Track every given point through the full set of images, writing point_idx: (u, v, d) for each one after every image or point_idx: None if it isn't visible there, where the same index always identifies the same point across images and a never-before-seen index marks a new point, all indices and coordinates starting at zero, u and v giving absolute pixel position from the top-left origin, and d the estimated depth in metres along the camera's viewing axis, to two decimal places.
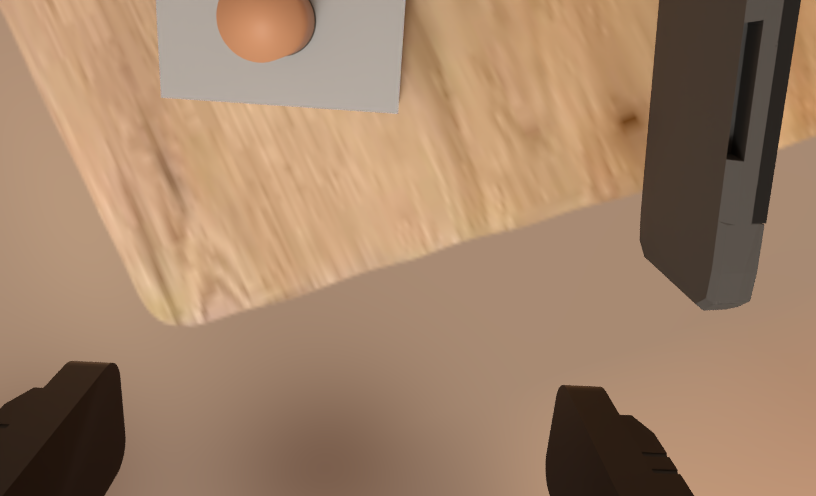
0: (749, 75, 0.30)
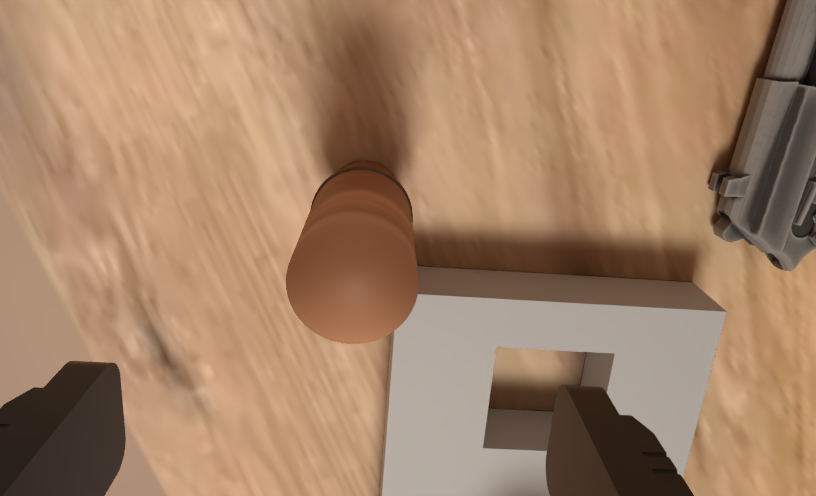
0: None
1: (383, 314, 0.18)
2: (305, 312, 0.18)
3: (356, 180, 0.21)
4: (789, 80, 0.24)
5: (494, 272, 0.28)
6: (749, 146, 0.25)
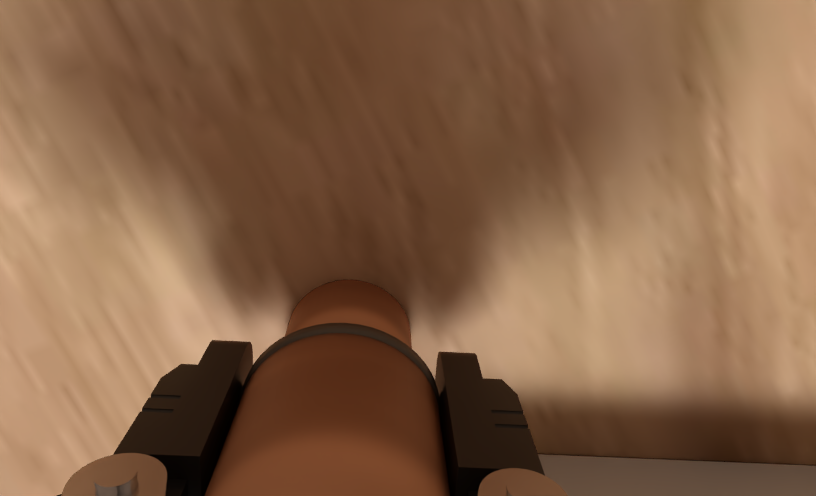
0: None
1: None
2: None
3: (324, 383, 0.10)
4: None
5: (577, 460, 0.16)
6: None
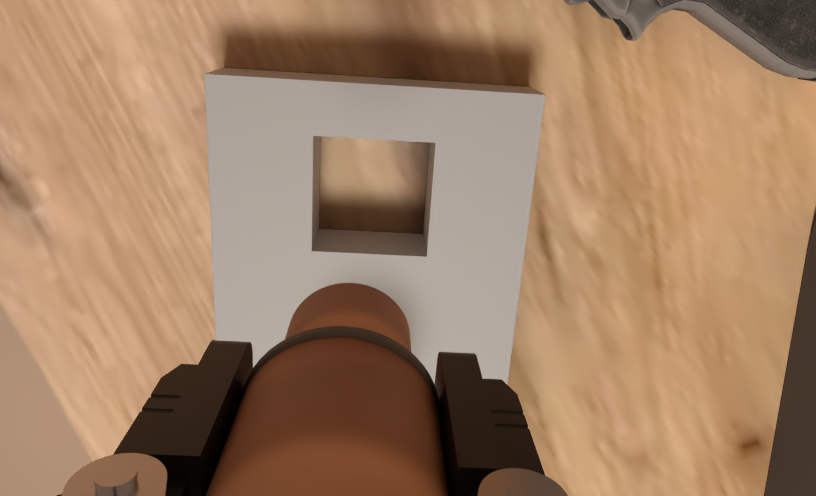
0: None
1: None
2: None
3: (323, 387, 0.10)
4: None
5: (324, 74, 0.27)
6: None
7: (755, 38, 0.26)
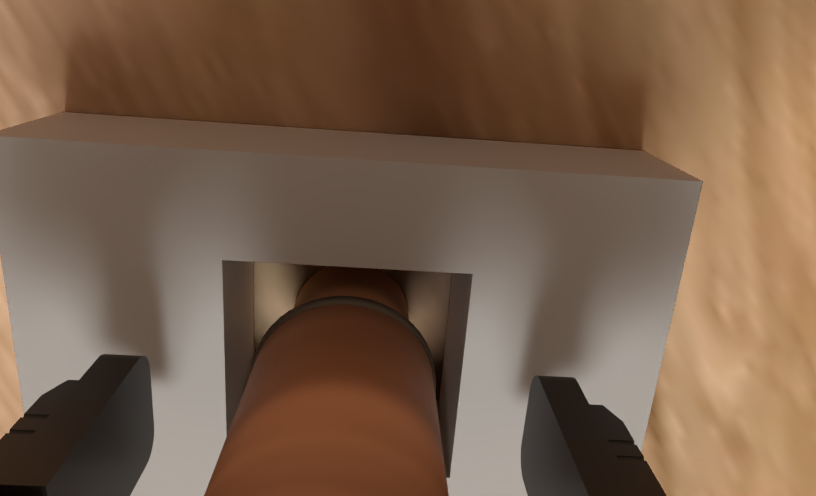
0: None
1: None
2: None
3: (329, 344, 0.11)
4: None
5: (256, 125, 0.14)
6: None
7: None
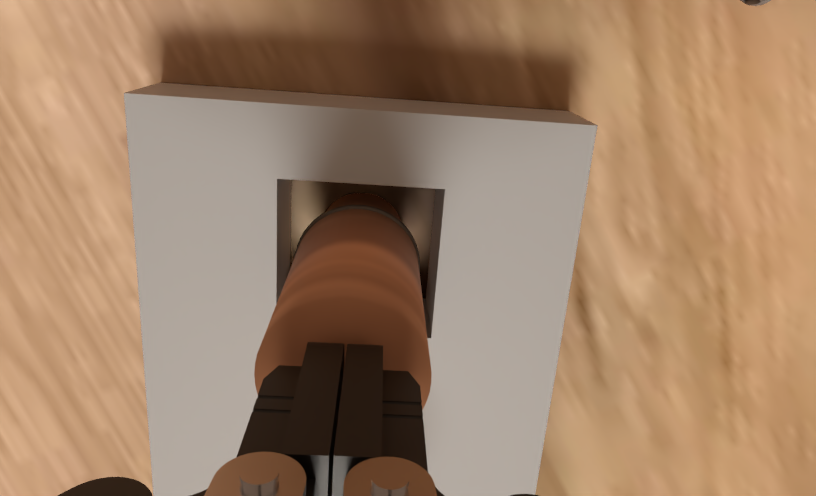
0: None
1: None
2: None
3: (349, 226, 0.17)
4: None
5: (295, 92, 0.20)
6: None
7: None
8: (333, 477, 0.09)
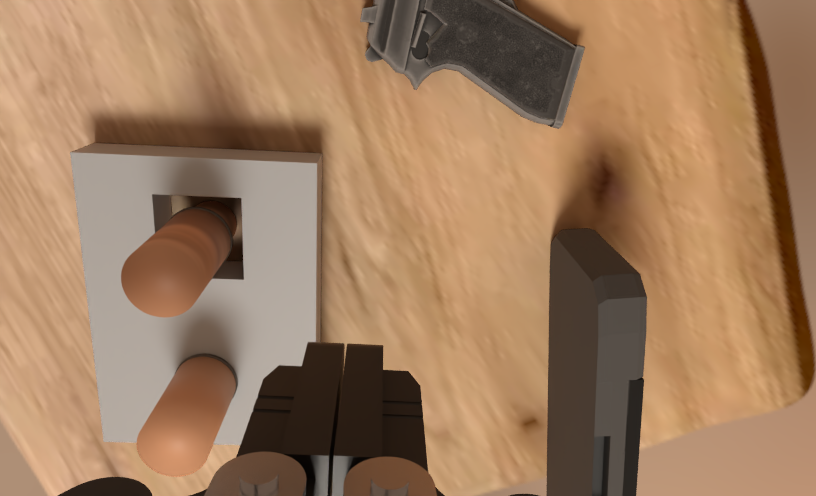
0: (606, 464, 0.34)
1: (181, 299, 0.30)
2: (134, 298, 0.30)
3: (183, 217, 0.33)
4: None
5: (168, 146, 0.37)
6: None
7: (502, 93, 0.35)
8: (333, 477, 0.09)
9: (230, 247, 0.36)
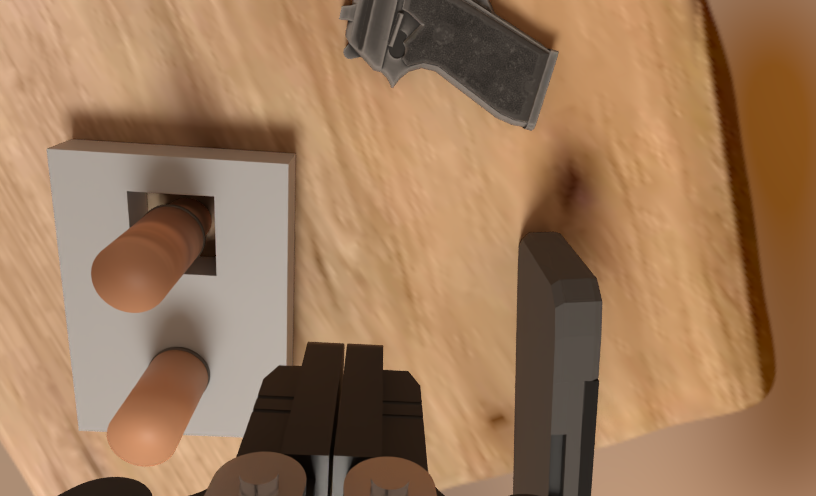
0: (563, 461, 0.36)
1: (150, 295, 0.31)
2: (104, 294, 0.31)
3: (155, 214, 0.34)
4: None
5: (144, 144, 0.38)
6: None
7: (476, 94, 0.36)
8: (333, 477, 0.09)
9: (203, 244, 0.37)
